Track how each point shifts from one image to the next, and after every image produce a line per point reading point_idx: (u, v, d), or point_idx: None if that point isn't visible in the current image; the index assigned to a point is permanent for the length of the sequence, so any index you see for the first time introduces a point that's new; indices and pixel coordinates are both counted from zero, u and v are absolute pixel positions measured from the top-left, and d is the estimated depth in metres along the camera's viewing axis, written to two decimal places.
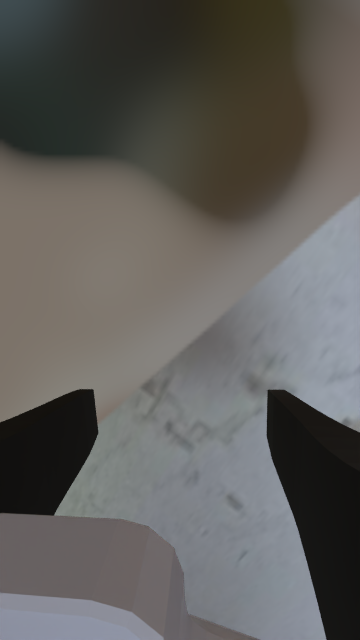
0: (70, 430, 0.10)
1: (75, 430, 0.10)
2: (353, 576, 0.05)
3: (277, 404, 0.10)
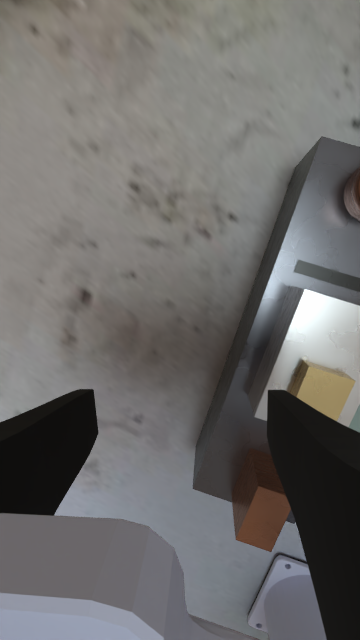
0: (70, 430, 0.10)
1: (75, 430, 0.10)
2: (353, 576, 0.05)
3: (277, 404, 0.10)
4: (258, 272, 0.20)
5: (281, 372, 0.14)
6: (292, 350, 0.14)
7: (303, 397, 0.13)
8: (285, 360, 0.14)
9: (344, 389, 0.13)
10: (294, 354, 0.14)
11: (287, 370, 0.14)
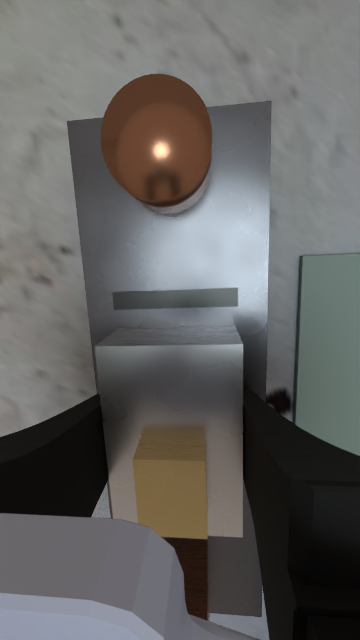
0: None
1: None
2: (280, 571, 0.05)
3: None
4: None
5: (119, 465, 0.10)
6: (119, 432, 0.09)
7: (146, 503, 0.09)
8: (117, 447, 0.10)
9: (195, 477, 0.08)
10: (124, 437, 0.09)
11: (126, 460, 0.10)
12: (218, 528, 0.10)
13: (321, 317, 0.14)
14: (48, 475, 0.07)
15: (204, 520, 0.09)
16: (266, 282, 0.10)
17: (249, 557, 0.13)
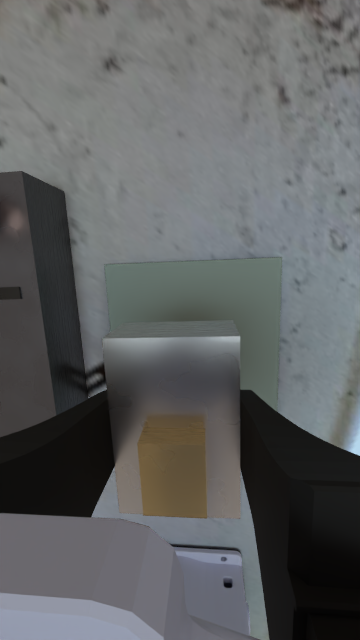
0: (104, 430, 0.10)
1: (108, 431, 0.10)
2: (280, 571, 0.05)
3: (240, 404, 0.10)
4: None
5: (125, 450, 0.10)
6: (124, 419, 0.10)
7: (150, 484, 0.09)
8: (122, 434, 0.10)
9: (195, 460, 0.09)
10: (129, 424, 0.10)
11: (131, 445, 0.10)
12: (217, 510, 0.10)
13: (122, 308, 0.20)
14: (48, 475, 0.07)
15: (204, 500, 0.09)
16: (36, 283, 0.16)
17: None
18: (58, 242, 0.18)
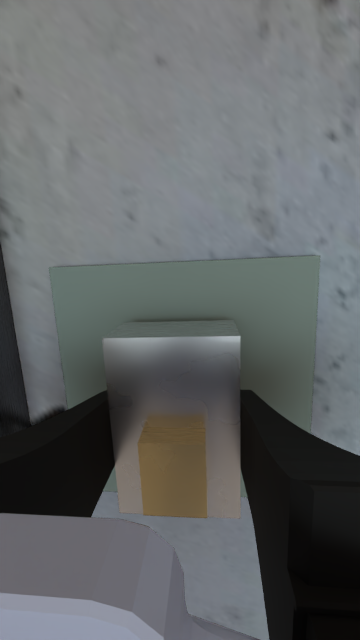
0: (104, 430, 0.10)
1: (108, 431, 0.10)
2: (280, 571, 0.05)
3: (240, 404, 0.10)
4: None
5: (125, 450, 0.10)
6: (124, 419, 0.10)
7: (150, 484, 0.09)
8: (122, 434, 0.10)
9: (195, 459, 0.09)
10: (129, 424, 0.10)
11: (131, 445, 0.10)
12: (217, 510, 0.10)
13: (78, 332, 0.14)
14: (48, 475, 0.07)
15: (204, 500, 0.09)
16: None
17: None
18: None
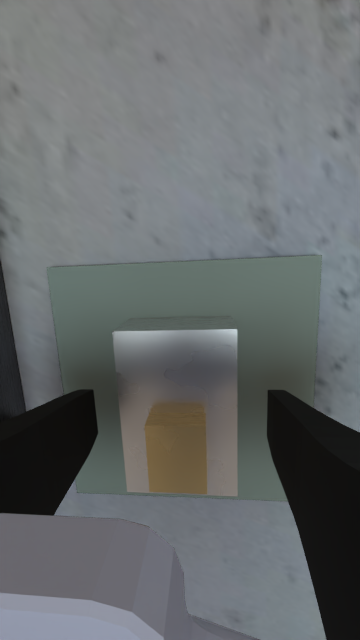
0: (70, 430, 0.10)
1: (75, 430, 0.10)
2: (353, 576, 0.05)
3: (277, 404, 0.10)
4: None
5: (132, 433, 0.11)
6: (132, 405, 0.11)
7: (156, 463, 0.10)
8: (130, 419, 0.11)
9: (197, 440, 0.10)
10: (137, 409, 0.11)
11: (138, 429, 0.11)
12: (216, 488, 0.12)
13: (76, 333, 0.13)
14: (0, 473, 0.07)
15: (204, 477, 0.10)
16: None
17: None
18: None
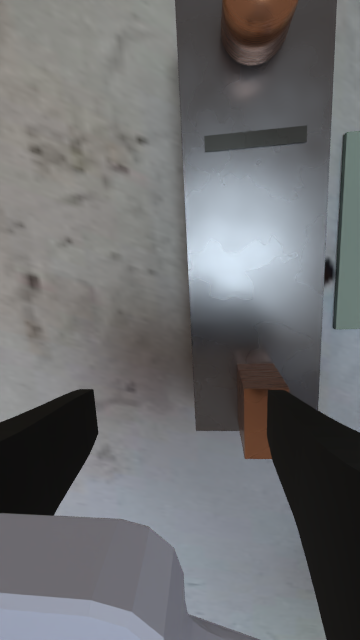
0: (70, 430, 0.10)
1: (75, 430, 0.10)
2: (353, 576, 0.05)
3: (277, 404, 0.10)
4: None
5: None
6: None
7: None
8: None
9: None
10: None
11: None
12: None
13: None
14: (0, 473, 0.07)
15: None
16: (330, 120, 0.13)
17: (308, 374, 0.16)
18: None
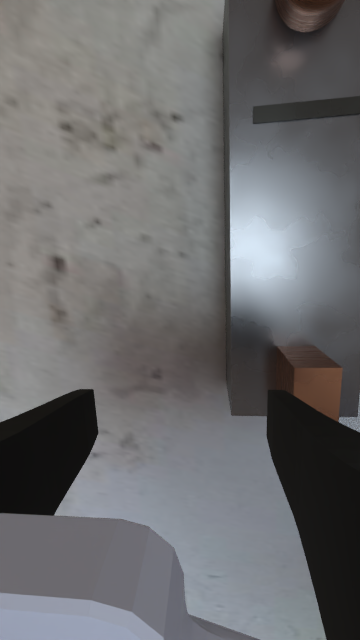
0: (70, 430, 0.10)
1: (75, 430, 0.10)
2: (353, 576, 0.05)
3: (277, 404, 0.10)
4: (224, 165, 0.18)
5: None
6: None
7: None
8: None
9: None
10: None
11: None
12: None
13: None
14: None
15: None
16: None
17: (351, 357, 0.15)
18: None
